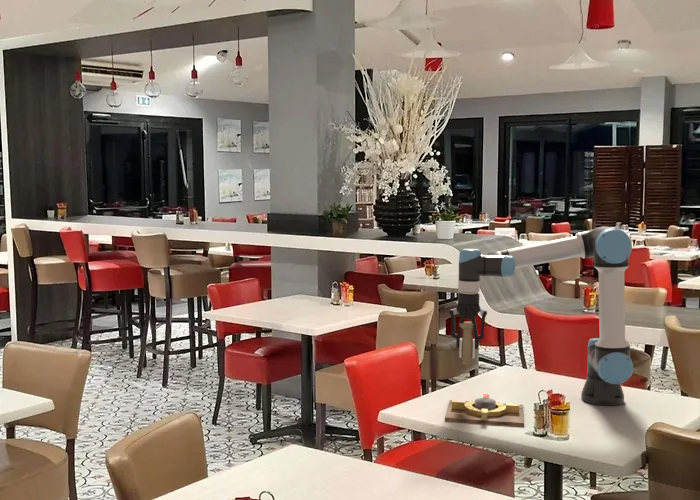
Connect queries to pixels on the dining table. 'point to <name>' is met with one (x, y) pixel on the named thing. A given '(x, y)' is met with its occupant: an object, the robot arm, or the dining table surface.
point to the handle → (467, 342)
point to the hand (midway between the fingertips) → (467, 357)
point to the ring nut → (485, 413)
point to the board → (489, 404)
